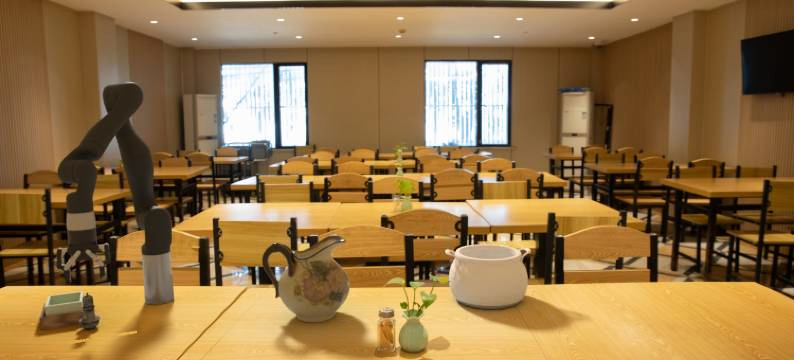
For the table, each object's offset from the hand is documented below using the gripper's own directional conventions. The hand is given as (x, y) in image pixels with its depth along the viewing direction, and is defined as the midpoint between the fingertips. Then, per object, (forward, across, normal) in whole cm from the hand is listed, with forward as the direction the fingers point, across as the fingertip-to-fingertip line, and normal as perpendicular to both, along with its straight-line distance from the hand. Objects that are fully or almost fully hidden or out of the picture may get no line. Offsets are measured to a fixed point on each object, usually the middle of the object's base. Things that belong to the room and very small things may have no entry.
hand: (85, 279), depth 181 cm
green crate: (+15, +7, -13) cm, 21 cm away
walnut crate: (+16, +7, -13) cm, 22 cm away
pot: (+15, -122, +31) cm, 127 cm away
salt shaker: (+16, 0, 0) cm, 16 cm away
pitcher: (+15, -64, +20) cm, 69 cm away
